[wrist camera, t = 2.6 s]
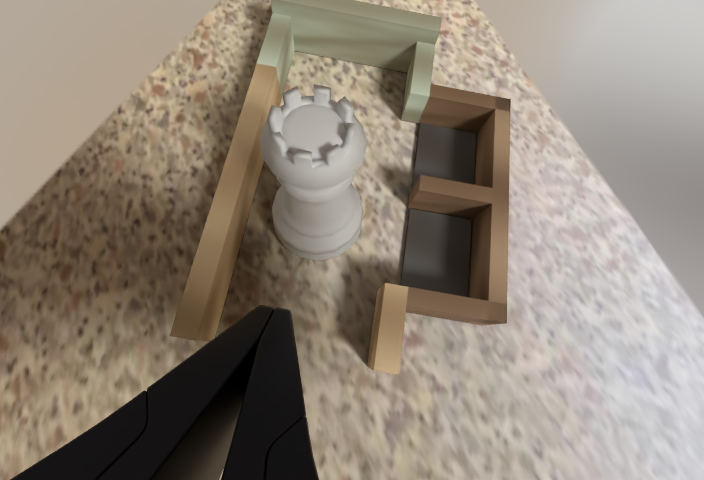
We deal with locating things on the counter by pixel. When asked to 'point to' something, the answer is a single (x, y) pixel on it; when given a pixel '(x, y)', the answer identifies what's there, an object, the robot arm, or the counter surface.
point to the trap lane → (428, 180)
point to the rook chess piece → (315, 172)
